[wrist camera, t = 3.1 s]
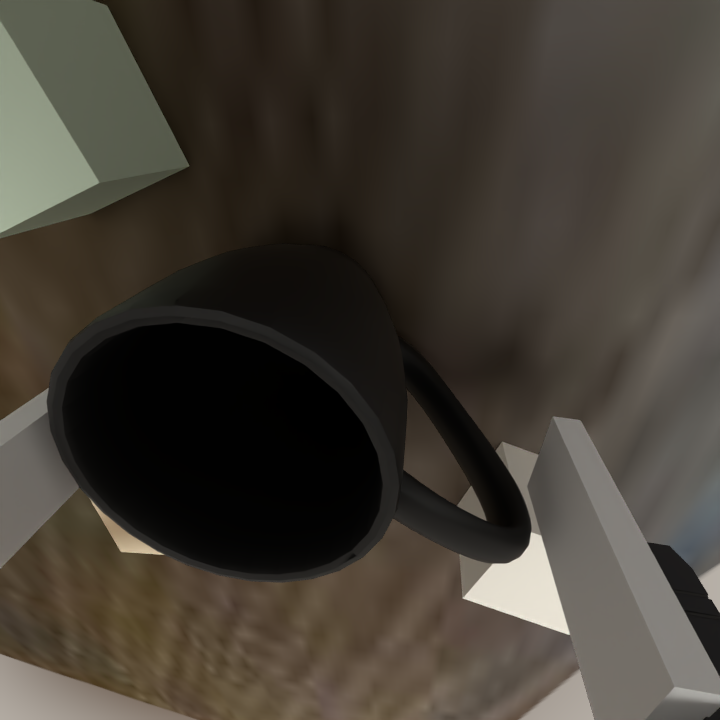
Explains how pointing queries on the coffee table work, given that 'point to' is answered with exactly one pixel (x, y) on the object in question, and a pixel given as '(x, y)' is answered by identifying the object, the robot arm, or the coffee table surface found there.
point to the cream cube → (515, 561)
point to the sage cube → (73, 115)
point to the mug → (268, 421)
